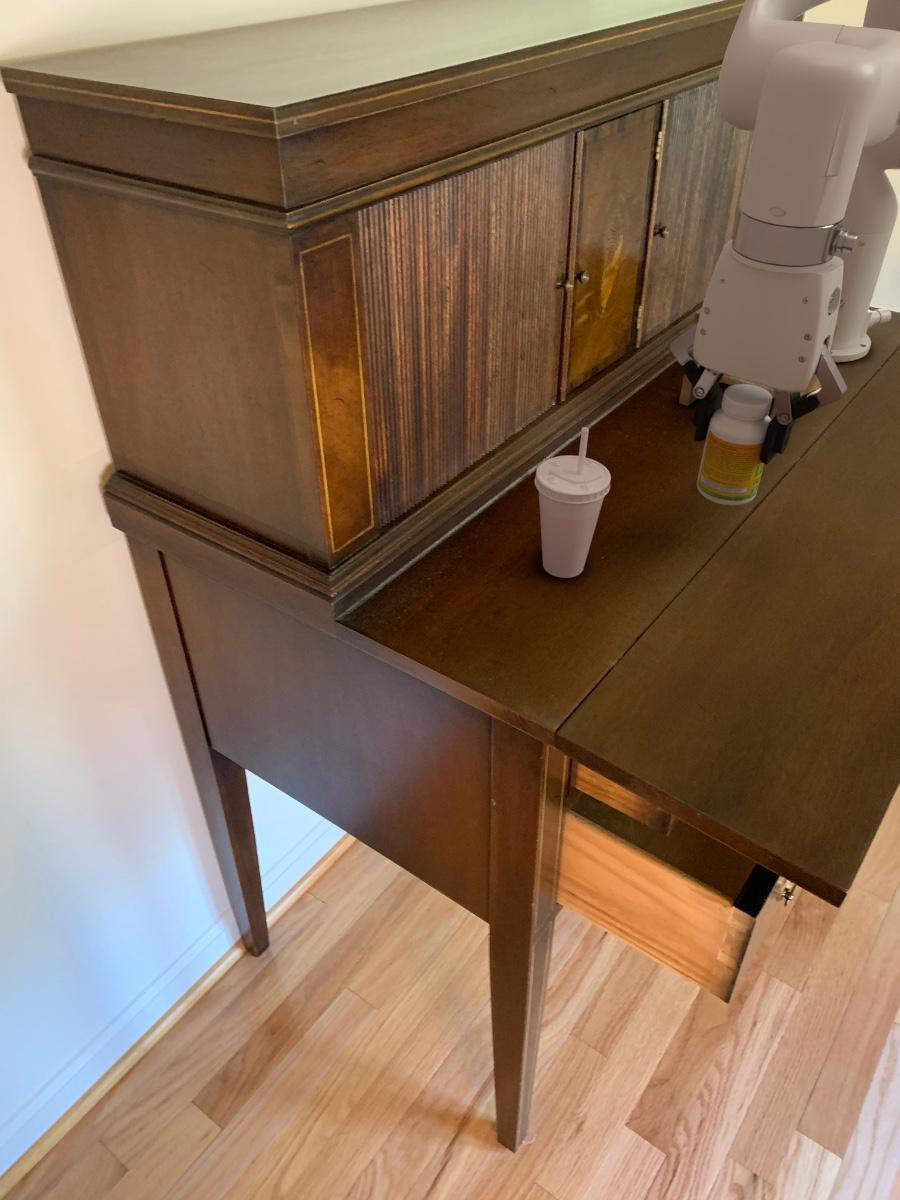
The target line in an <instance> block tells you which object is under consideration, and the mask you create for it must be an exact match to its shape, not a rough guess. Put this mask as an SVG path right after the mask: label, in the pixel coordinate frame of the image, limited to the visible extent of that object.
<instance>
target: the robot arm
mask: <svg viewBox="0 0 900 1200" xmlns="http://www.w3.org/2000/svg"><path fill="white" fill-rule="evenodd" d="M828 2H831V0H744V3H743V5H742V8H741V10H740V13H739V15H738V18H737V21H736V23H735V25H734V28H733V31H732V33H731V35H730V39H729V41H728V44H727V47H726V50H725V53H724V57H723V60H722V63H721V67H720V71H719V75H718V80H717V93H716V94H717V95H716V96H717V99H716V100H717V105H718V109H719V110H718V111H719V112H720V115H721V116H722V119H724V121H725V122H726V123H727V124H728V125H729V126H731V127H733V128H735V129H736V130H740V131H744V132H751V133H752V139H751V144H750V148H749V149H750V150H749V154H748V158H747V159H748V160H747V164H746V170H745V175H744V179H743V185H742V188H741V193H740V201H739V205H738V209H737V210H738V211H737V214H736V215H737V216H736V220H735V224H734V231H733V235H732V238H731V239H730V240H728V242H726V243H725V244H724V245H723V247H722V249H721V252H720V254H719V255H718V259H717V261H716V264H715V265H714V269H713V272H712V274H711V278H710V280H709V283H708V285H707V289H706V293H705V294H704V299H703V302H702V306H701V308H700V309H701V313H700V316H699V320H698V323H697V324H696V325H694V326H693V325H692V327H690V328H689V329H687V330H686V331H685V332H684V333H682V334H680V335H679V336H678V337H676V338H675V340H673V341H672V342H671V343H670V344H669V345H668V349H669V351H670V353H671V354H672V356H673V357H674V358H675V360H676V361H677V363H678V364H679V365H680V366H682V372H683V373H685V375H686V376H687V378H688V380H689V381H690V383H691V384H692V386H693V388H694V389H693V394H694V396H695V397H696V398H697V399H696V403H695V408H694V412H693V417H692V426H693V427H695V432H694V437H693V441H696V442H698V443H701V442H704V441H705V440H706V436H707V431H708V426H709V423H710V419H711V417H712V415H713V414H714V413H715V412H716V411H717V410H719V409H720V408H721V407H722V399H723V395H724V391H723V388H722V387H721V386H720V383H721V382H720V381H721V379H722V378H723V376H724V375H729V376H732V377H735V378H738V379H742V380H745V381H749V382H752V383H756V384H759V385H762V386H766V387H769V388H773V389H774V393H775V397H774V401H775V403H776V415H775V417H774V418H773V419H772V420H771V421H770V422H769V424H768V428H767V432H766V436H765V440H764V444H763V448H762V451H761V455H760V461H761V463H764V465H769V463H770V462H771V461H773V459H774V458H775V457H776V456H777V454H778V455H782V454H784V452H785V450H786V449H787V447H788V445H789V441H790V437H791V434H792V430H793V427H794V424H795V420H797V419H799V418H802V417H804V416H806V415H808V414H810V413H812V412H813V411H815V410H817V409H819V408H821V407H825V406H826V405H827V406H828V405H829V404H831V403H835V402H837V401H839V400H841V399H842V398H843V397H844V395H845V394H846V393H847V392H848V385H847V383H846V382H845V380H844V377H843V376H842V374H841V372H840V370H839V367H838V366H837V364H836V363H846V362H852V361H853V362H854V361H856V360H859V359H861V358H864V357H865V356H866V355H868V353H869V351H870V348H871V345H872V341H871V338H870V336H869V335H868V334H867V332H868V329H871V328H872V327H873V326H877V325H882V324H886V323H889V322H890V321H891V319H892V312H891V310H890V309H889V308H887V307H883V308H880V309H879V308H878V309H874V310H870V305H871V302H872V299H873V296H874V293H875V290H876V286H877V283H878V280H879V277H880V273H881V270H882V267H883V263H884V261H885V258H886V253H887V251H888V247H889V245H890V240H891V237H892V234H893V230H894V228H895V224H896V221H897V218H898V214H899V199H898V194H897V192H896V189H895V187H894V184H893V182H892V180H891V178H890V175H889V174H888V170H896V171H898V170H900V0H867V4H866V8H865V12H864V18H863V25H862V26H853V25H852V26H851V25H846V24H839V23H837V24H836V23H825V22H812V21H802V20H801V21H800V20H796V19H797V18H799V17H800V16H801V15H803V14H805V13H806V12H808V11H810V10H812V9H814V8H816V7H818V6H820V5H823V4H825V3H828ZM840 299H841V300H845V304H844V307H843V311H842V314H841V318H840V321H839V324H838V328H837V331H836V335H835V338H834V342H833V345H832V341H833V336H834V331H835V326H836V321H837V316H838V310H839V304H840ZM831 345H832V349H831ZM830 349H831V352H830ZM813 375H816V376H817V378H818V380H819V382H820V384H821V387H820V389H818V390H813V391H811V392H809V393H807V394H805V395H803V394H802V391H804V390H805V389H806V388H807V386H808V384H809V382H810V379H811V378H812V377H813Z"/></svg>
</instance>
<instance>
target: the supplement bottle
mask: <svg viewBox="0 0 900 1200" xmlns="http://www.w3.org/2000/svg"><path fill="white" fill-rule="evenodd" d="M772 402H773V397H772V396H771V394H770V393H769V392H768V391H767V390H765V389H763V388H761V387H758V386H754V385H749V384H737V385H730V386H728V387H727V388H725V390H724V391H723V396H722V401H721V407H720V409H719V410H717V411H716V412H715V413H714V414H713V415H712V417H711V419H710V423H709V426H708V431H707V436H706V438H705V440H704V446H703V451H702V456H701V460H700V465H699V469H698V475H697V479H696V489H697V490H698V493H700V495H702V497H704V498H705V499H706V500H708V501H710V502H712V503H715V504H719V505H723V506H741V505H745V504H748V503H751V502H752V501H753V500H754V499H755V498H756V496H757V493H758V490H759V486H760V483H761V479H762V475H763V471H764V467H765V464H764V463H761V461H760V455H761V451H762V448H763V444H764V440H765V436H766V432H767V428H768V424H769V422H770V421H771V419H770V416H769V414H770V411H771V407H772Z"/></svg>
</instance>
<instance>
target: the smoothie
mask: <svg viewBox="0 0 900 1200" xmlns="http://www.w3.org/2000/svg"><path fill="white" fill-rule="evenodd" d="M589 431H590V428H589V427H587V426H583V427H581V434H580V442H579V450H578V451H579V452H578V455H570V454H569V455H559V456H554V457H550V458H548V459H546V460H543V462H541V463H540V464H539V465H538V467H537V468H536V470H535V477H534V486H535V487H536V489H537V491H538V500H539V501H538V502H539V514H540V515H539V519H540V534H541V535H540V536H541V537H540V539H541V553H542V554H541V555H542V567H543V569H544V570H545V571H546V572H547V573H548V574H549V575H551V576H552V577H553V576H554V577H558V578H562V579H563V578H564V579H568V578H569V579H571V578H574V577H577V576H579V575H581V574H582V572H583V571H584V569H585V564H586V562H587V557H588V555H589V552H590V551H589V550H590V548H591V543H592V540H593V537H594V534H595V530H596V527H597V523H598V520H599V516H600V512H601V509H602V507H603V506H602V505H603V501H604V499H605V496H607V494H609V492H610V489H611V479H612V476H611V473H610V471H609V469H607V467H606V466H605V465H604V464H602V463H600V462H599V461H597V460H594V459H592V458H589V457H587V447H588V440H589V439H588V438H589Z"/></svg>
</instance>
